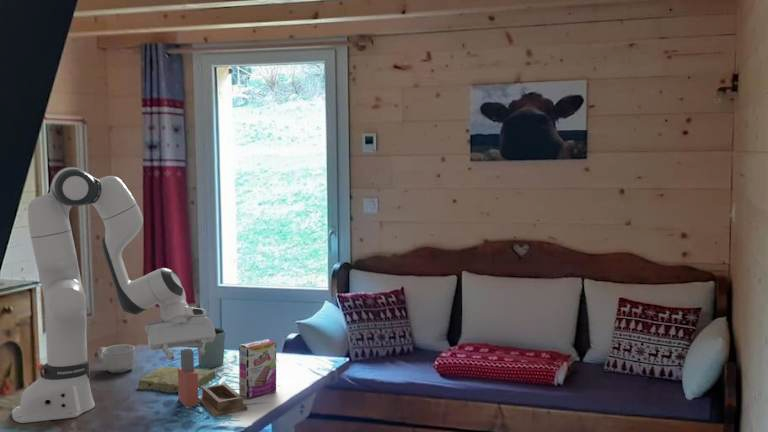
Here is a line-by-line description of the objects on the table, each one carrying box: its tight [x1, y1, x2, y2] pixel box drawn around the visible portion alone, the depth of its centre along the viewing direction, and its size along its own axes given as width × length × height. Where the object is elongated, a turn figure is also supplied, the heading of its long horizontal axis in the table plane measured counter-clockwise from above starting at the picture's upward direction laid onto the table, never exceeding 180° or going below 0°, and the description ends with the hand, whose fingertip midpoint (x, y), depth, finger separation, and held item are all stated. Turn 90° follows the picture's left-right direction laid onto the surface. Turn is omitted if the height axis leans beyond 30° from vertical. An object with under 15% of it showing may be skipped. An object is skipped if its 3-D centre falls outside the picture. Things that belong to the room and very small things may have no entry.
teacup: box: [97, 343, 136, 374], centre depth 267 cm, size 14×11×8 cm
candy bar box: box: [238, 338, 277, 400], centre depth 239 cm, size 11×5×16 cm, turn 134°
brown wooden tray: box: [198, 383, 248, 417], centre depth 229 cm, size 10×16×4 cm, turn 30°
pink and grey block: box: [177, 348, 199, 408], centre depth 232 cm, size 4×9×16 cm, turn 30°
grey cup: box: [196, 327, 226, 368], centre depth 273 cm, size 10×10×12 cm
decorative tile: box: [137, 366, 217, 393], centre depth 252 cm, size 19×20×4 cm
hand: (187, 356), depth 232 cm, fingers open, 8 cm apart
